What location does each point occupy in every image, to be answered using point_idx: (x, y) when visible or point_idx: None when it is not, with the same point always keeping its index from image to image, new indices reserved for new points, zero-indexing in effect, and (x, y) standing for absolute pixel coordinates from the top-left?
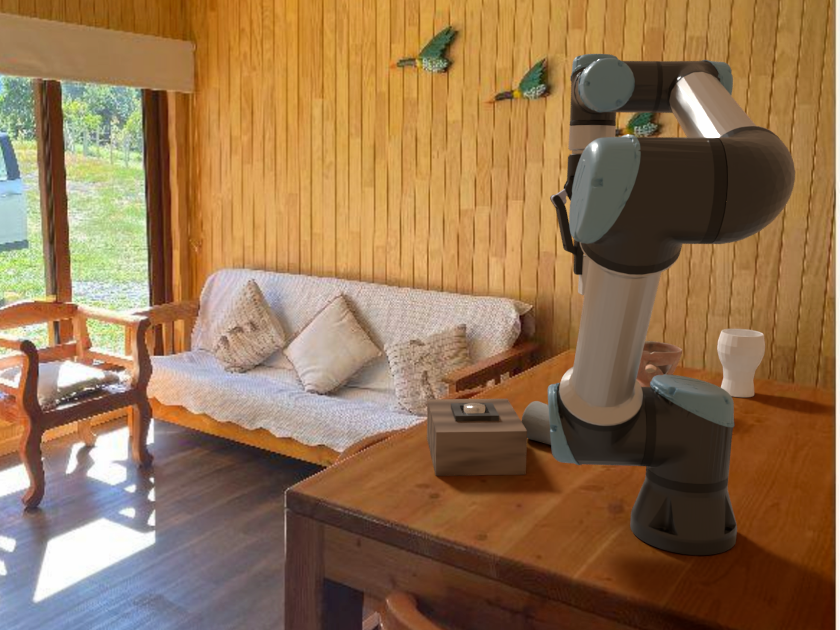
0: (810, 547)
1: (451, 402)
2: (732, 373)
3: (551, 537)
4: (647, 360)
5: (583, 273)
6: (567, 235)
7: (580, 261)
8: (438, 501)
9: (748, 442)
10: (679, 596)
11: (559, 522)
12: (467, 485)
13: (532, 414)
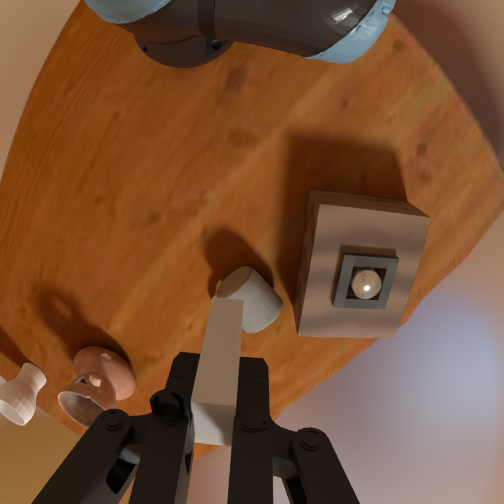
0: None
1: (372, 325)
2: (29, 383)
3: None
4: (95, 392)
5: (238, 350)
6: (337, 501)
7: (247, 398)
8: (421, 134)
9: (37, 257)
10: None
11: None
12: (383, 168)
13: (271, 304)
